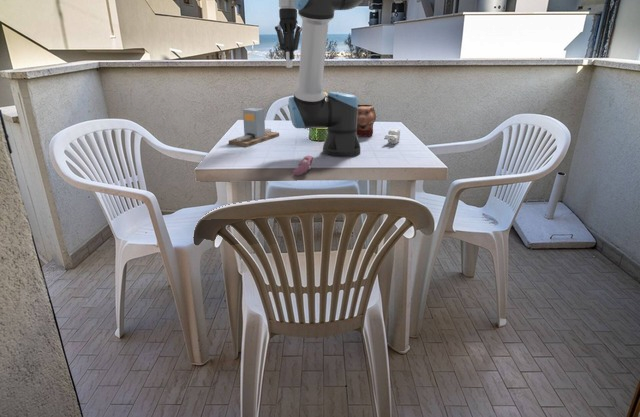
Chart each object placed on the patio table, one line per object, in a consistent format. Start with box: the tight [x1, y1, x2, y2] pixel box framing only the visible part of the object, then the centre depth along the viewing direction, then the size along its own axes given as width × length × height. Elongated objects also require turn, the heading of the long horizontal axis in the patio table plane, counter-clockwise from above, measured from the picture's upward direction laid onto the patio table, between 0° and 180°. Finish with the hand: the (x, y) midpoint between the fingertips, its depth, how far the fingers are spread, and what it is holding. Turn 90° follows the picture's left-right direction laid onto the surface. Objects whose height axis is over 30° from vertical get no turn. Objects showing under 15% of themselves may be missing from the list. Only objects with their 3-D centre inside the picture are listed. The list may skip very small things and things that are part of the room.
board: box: [228, 131, 280, 148], centre depth 185 cm, size 24×10×2 cm, turn 151°
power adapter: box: [384, 128, 401, 145], centre depth 179 cm, size 11×5×6 cm, turn 152°
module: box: [242, 107, 266, 139], centre depth 183 cm, size 6×7×12 cm
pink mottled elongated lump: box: [292, 155, 315, 177], centre depth 140 cm, size 10×5×7 cm, turn 170°
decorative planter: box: [357, 103, 377, 137], centre depth 195 cm, size 20×12×14 cm, turn 1°
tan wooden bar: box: [236, 128, 272, 142], centre depth 185 cm, size 22×2×2 cm, turn 151°
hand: (289, 67), depth 182 cm, fingers closed
